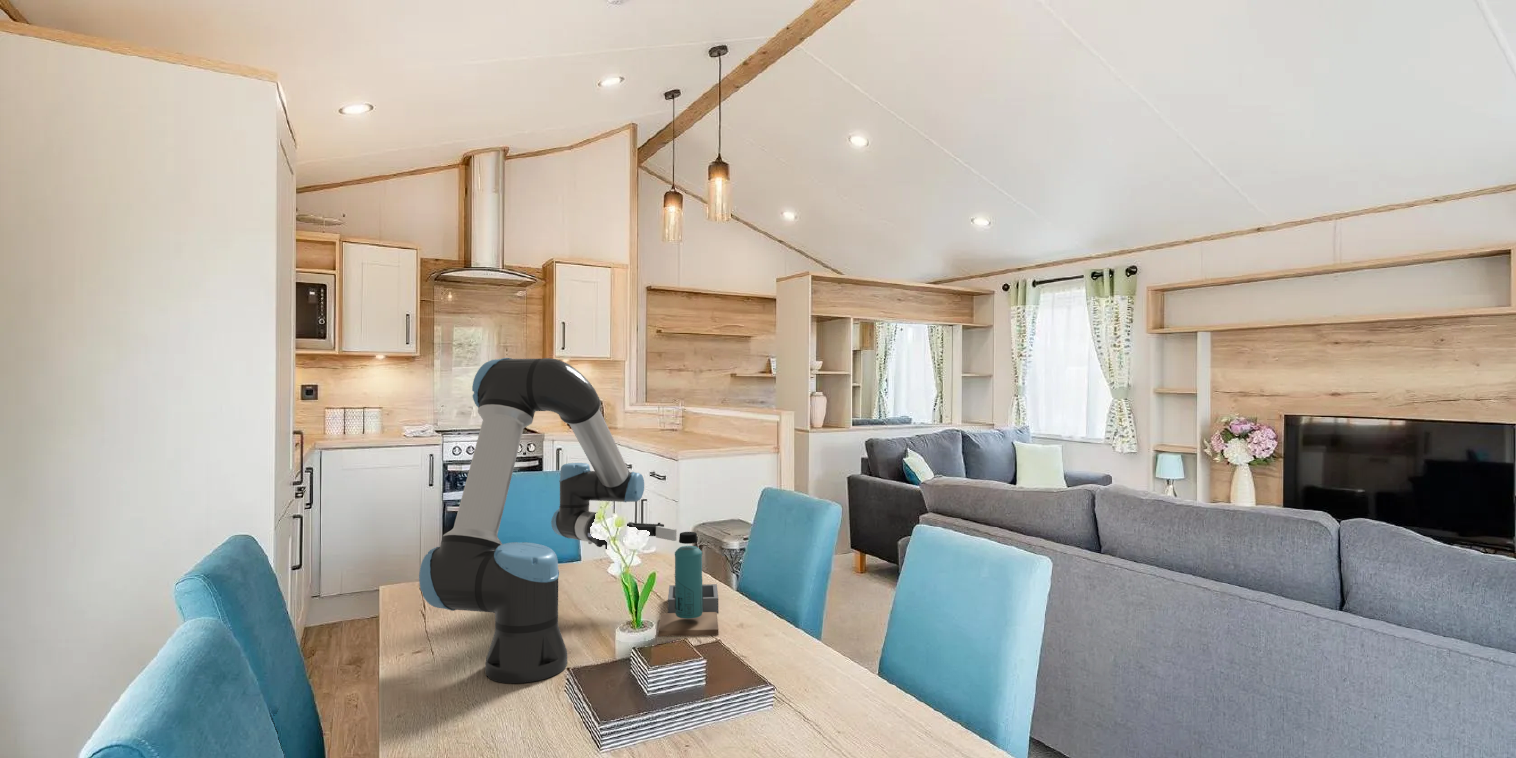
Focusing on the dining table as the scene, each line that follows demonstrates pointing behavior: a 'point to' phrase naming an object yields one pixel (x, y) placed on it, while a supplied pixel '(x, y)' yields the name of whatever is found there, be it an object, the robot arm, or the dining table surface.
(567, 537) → the robot arm
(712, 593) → the gray square tray
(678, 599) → the beverage bottle
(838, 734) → the dining table surface
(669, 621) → the walnut board
